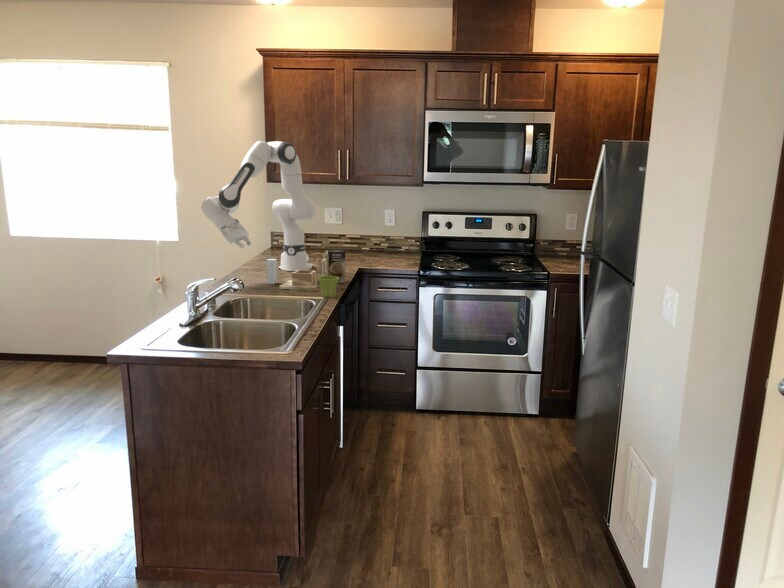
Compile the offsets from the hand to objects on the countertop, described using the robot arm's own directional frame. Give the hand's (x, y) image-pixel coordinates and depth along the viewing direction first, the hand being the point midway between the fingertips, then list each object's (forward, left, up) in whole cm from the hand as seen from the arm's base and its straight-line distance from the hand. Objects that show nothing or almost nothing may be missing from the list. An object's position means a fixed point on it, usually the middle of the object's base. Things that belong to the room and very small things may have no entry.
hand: (247, 246), depth 305 cm
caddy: (+5, +30, -18) cm, 36 cm away
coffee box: (-11, +42, -18) cm, 47 cm away
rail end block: (0, +12, -18) cm, 22 cm away
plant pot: (+22, +46, -18) cm, 54 cm away
